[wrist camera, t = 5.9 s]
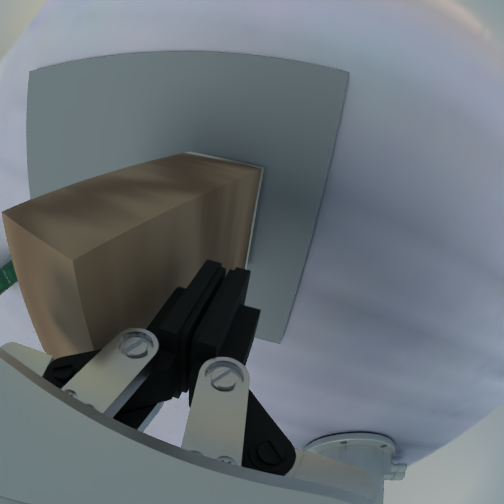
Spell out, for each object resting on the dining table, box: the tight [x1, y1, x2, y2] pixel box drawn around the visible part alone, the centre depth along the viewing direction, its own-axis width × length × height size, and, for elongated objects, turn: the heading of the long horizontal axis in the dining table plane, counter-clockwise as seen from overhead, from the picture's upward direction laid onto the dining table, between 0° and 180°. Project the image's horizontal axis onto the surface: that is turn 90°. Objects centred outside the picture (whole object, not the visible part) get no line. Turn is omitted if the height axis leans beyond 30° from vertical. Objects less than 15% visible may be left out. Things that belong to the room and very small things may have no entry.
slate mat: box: [26, 51, 349, 344], centre depth 20 cm, size 26×20×1 cm
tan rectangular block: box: [2, 152, 264, 359], centre depth 14 cm, size 5×7×12 cm
